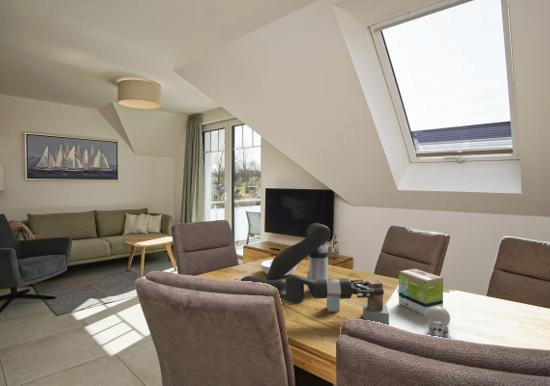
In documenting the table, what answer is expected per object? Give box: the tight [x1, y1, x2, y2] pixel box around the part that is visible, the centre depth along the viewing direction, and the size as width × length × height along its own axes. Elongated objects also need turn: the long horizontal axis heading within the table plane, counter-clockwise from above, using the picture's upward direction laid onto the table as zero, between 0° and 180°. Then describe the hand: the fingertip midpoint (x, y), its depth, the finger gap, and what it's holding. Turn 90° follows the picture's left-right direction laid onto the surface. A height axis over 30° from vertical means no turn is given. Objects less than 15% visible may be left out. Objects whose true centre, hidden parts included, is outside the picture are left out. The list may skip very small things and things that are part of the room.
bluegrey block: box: [326, 298, 341, 312], centre depth 138 cm, size 4×4×10 cm
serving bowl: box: [260, 258, 298, 277], centre depth 191 cm, size 21×21×7 cm
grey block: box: [362, 302, 390, 326], centre depth 127 cm, size 9×9×5 cm
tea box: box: [398, 268, 444, 317], centre depth 138 cm, size 15×10×15 cm, turn 23°
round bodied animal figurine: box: [427, 306, 451, 338], centre depth 115 cm, size 7×12×8 cm, turn 148°
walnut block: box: [366, 279, 384, 310], centre depth 127 cm, size 4×4×10 cm
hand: (379, 288), depth 126 cm, fingers open, 8 cm apart
